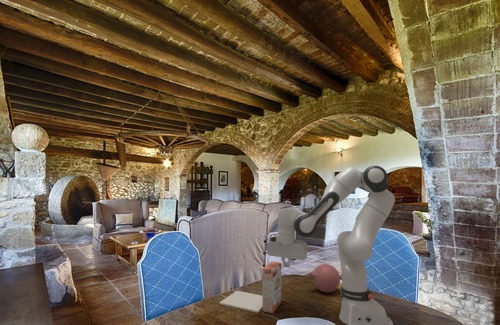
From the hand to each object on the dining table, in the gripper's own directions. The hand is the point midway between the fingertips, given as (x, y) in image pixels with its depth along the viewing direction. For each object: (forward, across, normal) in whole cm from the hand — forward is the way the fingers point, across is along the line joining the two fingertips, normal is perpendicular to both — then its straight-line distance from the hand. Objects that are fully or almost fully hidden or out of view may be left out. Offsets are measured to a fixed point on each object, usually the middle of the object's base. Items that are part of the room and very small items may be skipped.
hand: (286, 266), depth 139 cm
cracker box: (+21, +8, 0) cm, 23 cm away
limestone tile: (+21, +22, 0) cm, 31 cm away
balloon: (+21, -10, -32) cm, 40 cm away
